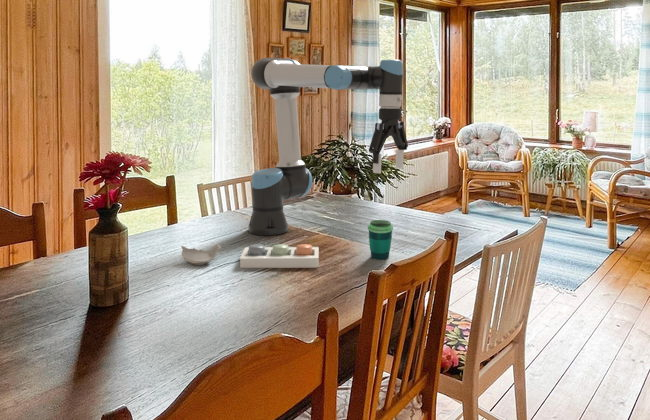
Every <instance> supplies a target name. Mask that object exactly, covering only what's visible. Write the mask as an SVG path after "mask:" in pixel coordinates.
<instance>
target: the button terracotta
mask: <svg viewBox="0 0 650 420" xmlns="http://www.w3.org/2000/svg"><path fill="white" fill-rule="evenodd" d="M295 247H296V256H312V247H313V246H312V244H306V243H303V244H301V243H300V244H297V245H296V246H295Z"/></svg>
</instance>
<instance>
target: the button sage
mask: <svg viewBox="0 0 650 420" xmlns="http://www.w3.org/2000/svg"><path fill="white" fill-rule="evenodd" d="M272 247H273V256H289V250H288V247H289V245H288V244H284V243H282V244H280V243H279V244H274V245H272Z"/></svg>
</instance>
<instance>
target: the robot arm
mask: <svg viewBox="0 0 650 420" xmlns="http://www.w3.org/2000/svg"><path fill="white" fill-rule="evenodd" d="M252 65H253V66H252V68H251V70H250V71H251V72H250V75H251V80H252V82H253V83H254V85H256V86H257V87H258V88H259V89H262V90H265V91H266V90H267V91H269V95H270V97H271V98H272V99H274V109H275V110H274V111H275V112H274V113H275V121H276V123H275V125H276V134H277V145H278V146H277V148H278V163H277V164H276V165H275V167H269V168H262V169H259V170H257V171H255V172H253V173H252V176H251V199H252V202H251V203H252V213H251V215H250V220H249V223H248V233H250V234H252V235H258V236H276V235H281V234H285V233H287V232H288V231H289V223H288V222H287V218H286V215H285V212H284V201H287V200H291V199H299V198H301V197H303V196H305V195H307V194H308V193H309V192H310V190H311V189H312V187H313V176H312V173H311V172H310V170H309V169H308V168H307V167H306V163H305V162H304V160H302V155H301V143H300V142H301V141H300V140H301V139H300V127H299V113H298V101H297V100H298V97H299V96H300V94H301V88H315V89H316V88H317V89H318V88H319V89H332V90H335V91H336V90H337V91H338V90H339V91H342V90H379V93H378V94H379V95H378V107H379V109H378V120H381V122H376V123H375V124H374V130H373V131H374V132H373V135H372V138H371V141H370V145H369V148H368V152H369V154H372V163H373V164H372V173H374V174H382V153H381V151H382V149H383V148H384V144H385V143H386V140H387V139H388V138H389V137H392V140H393V141H394V143H395V146H396V148H397V149H396V150H395V169H398V170H399V169H400V170H402V169H404V155H405V151H407V150H408V147H409V144H408V140H407V135H406V132H405V122H404V121H401V119H402V113H403V112H402V108H401V107H402V101H403V78H404V67H403V66H404V64H403V61H402V60H401V59H381V60H380V62H379V66H372V65H371V66H362V65H342V64H335V65H334V64H332V65H331V64H307V63H306V64H304V63H303V64H301V63H300V62H298V60H295V59H292V58H285V57H284V58H281V57H263V58H259V59H258V60H256V61H255V63H254V64H252Z"/></svg>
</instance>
